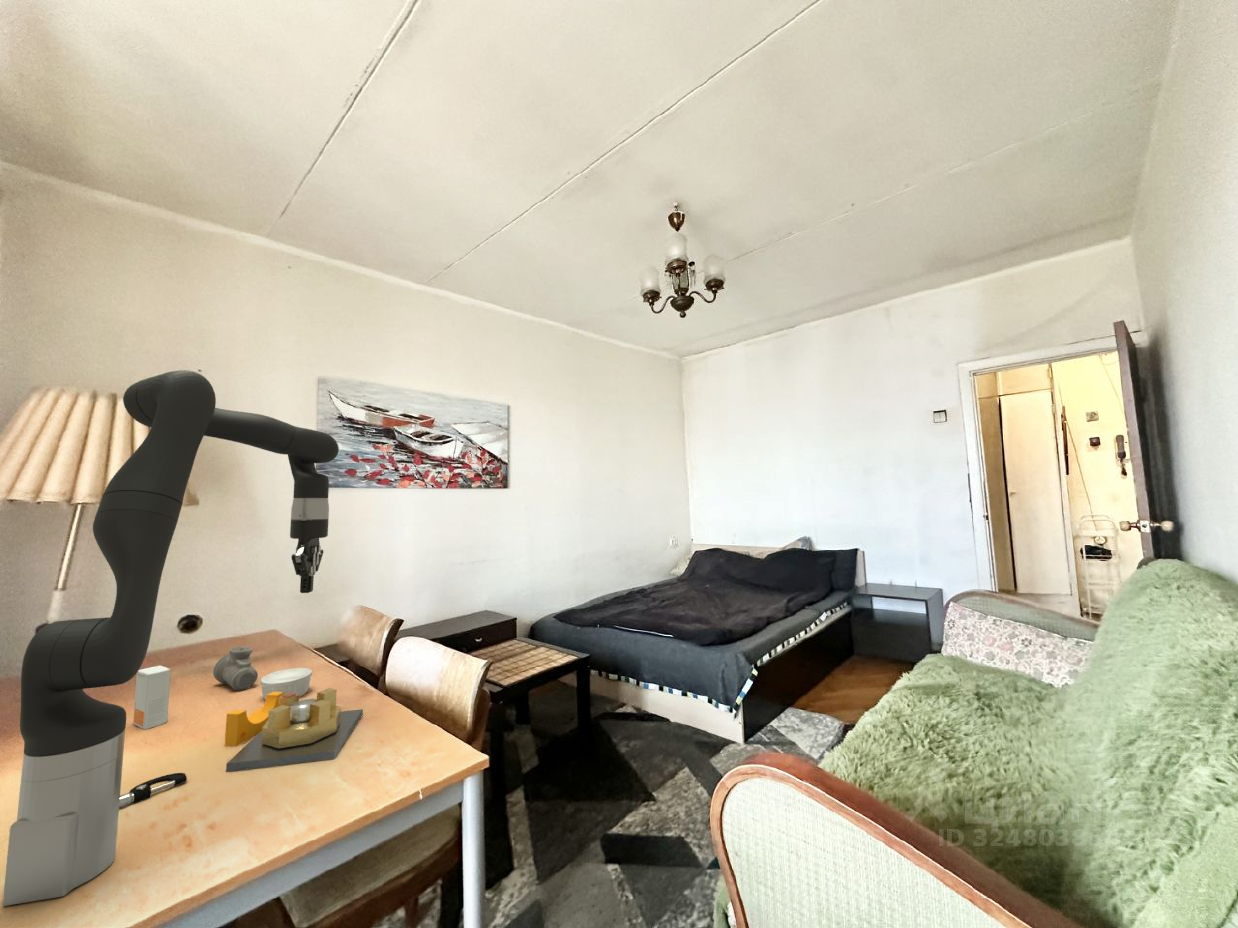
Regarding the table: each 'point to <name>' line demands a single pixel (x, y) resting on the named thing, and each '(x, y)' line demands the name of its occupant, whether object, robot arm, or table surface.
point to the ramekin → (287, 681)
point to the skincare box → (152, 697)
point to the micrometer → (145, 790)
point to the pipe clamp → (249, 721)
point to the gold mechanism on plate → (316, 751)
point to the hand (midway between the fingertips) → (306, 592)
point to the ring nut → (319, 725)
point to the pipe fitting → (236, 669)
